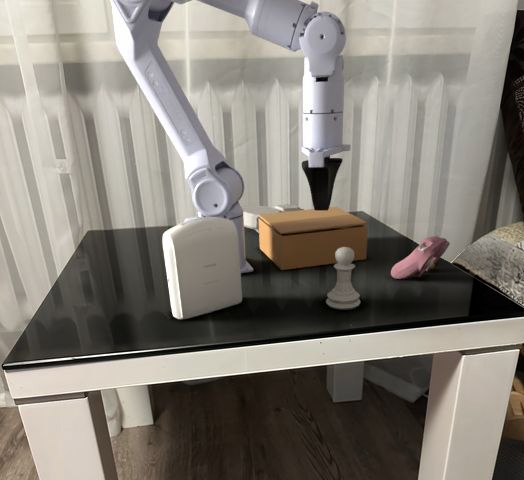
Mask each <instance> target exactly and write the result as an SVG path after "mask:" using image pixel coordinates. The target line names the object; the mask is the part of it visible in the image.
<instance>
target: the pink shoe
mask: <svg viewBox="0 0 524 480" xmlns="http://www.w3.org/2000/svg"><path fill="white" fill-rule="evenodd" d="M450 244H451V242H450V241H448V240H447V239H446V237H445V238H444V237H439V235H438V234H436V235H435V236H434V235H433V236H428V237H424V238H423V239H422V240H421V242H420V244H419V245H418V246H417V247H416V248H415V249H413V251H412V252H411V253H410V254H409V255H408V256H406V257H404V258H403V259H402V260H399V261H398V262H397V263H395V264H394V265H393V266H392V267H391V269H390V276H391V277H392V278H394V279H395V280H404V279H407V278H410V277H412V276H414V275H415V276H416V277H417V278H421V276H422V275H423V274H424V273H425V272H429V271H430V270H431V269H434V268H435V266H436V265H435V264H436V262H437V261H439V259H441V257H442V256H443V255H444V254H445V253H446V251H447V250H448V248H449V246H450Z"/></svg>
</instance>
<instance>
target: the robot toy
mask: <svg viewBox="0 0 524 480" xmlns="http://www.w3.org/2000/svg"><path fill="white" fill-rule="evenodd" d="M240 206H241V205H240ZM241 208H242V209H243V216H244V228H247V229H250V230H254V231H256V232H257V233H258V234H259V219H260V217H259V215H261V214H270V213H280V212H289V211H299V210H305V208H301V207H299V206H298V205H295V204H288V203H287V204H278V205H275V206H274V207H270V206H266V205H258V204H255V205H242V206H241Z"/></svg>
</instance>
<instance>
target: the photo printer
mask: <svg viewBox="0 0 524 480" xmlns="http://www.w3.org/2000/svg"><path fill="white" fill-rule="evenodd" d="M162 249H163V258H164V264H165V271H166V278H167V285H168V293H169V301H170V307H171V313H172V317H174V318H175V319H177V320H187V319H191V318H194V317H199V316H202V315H205V314H209V313H213V312H215V311H219V310H222V309H225V308H229V307H232V306H236V305H238V304H241V302H242V301H243V288H242V286H243V285H242V273H241V270H240V256H239V242H238V233H237V229H236V226H235V224H234V223H233V221H230V220H228V219H225V218H219V217H203V218H196V219H192V220H189V221H186V222H185V221H183V222H180V223H178V224H176V225H174V226H172V227H170V228H169V229H167V230H166V231H164V233H162Z"/></svg>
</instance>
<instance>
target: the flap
mask: <svg viewBox="0 0 524 480" xmlns="http://www.w3.org/2000/svg"><path fill="white" fill-rule="evenodd" d="M348 214H350V212H348V211H345V210H344V209H342V208H340V207H338V206H329V209H328V210H327V211H320V210H314V208H311V209H310V208H308V209H304V210H299V211H289V212H280V213H270V214H261V215H259V217H260V218H262V219H263V220H264V221H265V222H266V223H267V224H269V223H275V222H284V221H293V220H303V219H312V218H321V217H330V216H339V215H348Z"/></svg>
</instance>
